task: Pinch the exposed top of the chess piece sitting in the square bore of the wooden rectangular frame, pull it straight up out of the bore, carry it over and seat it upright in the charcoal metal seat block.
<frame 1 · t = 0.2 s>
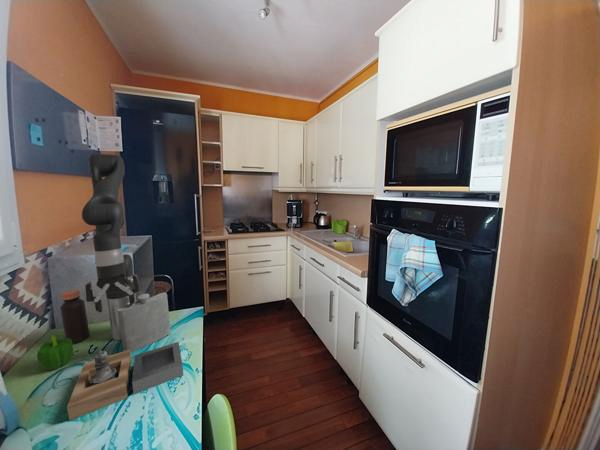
hand: (116, 307, 81), 18 cm above the table, tool pointing down, fingers open, 8 cm apart
bell pepper: (58, 365, 80), on the table
bottle: (78, 339, 93), on the table
wooden rectangular frame: (105, 385, 71), on the table
chess piece: (105, 386, 71), resting in wooden rectangular frame
hip flask: (149, 341, 91), on the table, touching gripper
seat block: (159, 370, 76), on the table
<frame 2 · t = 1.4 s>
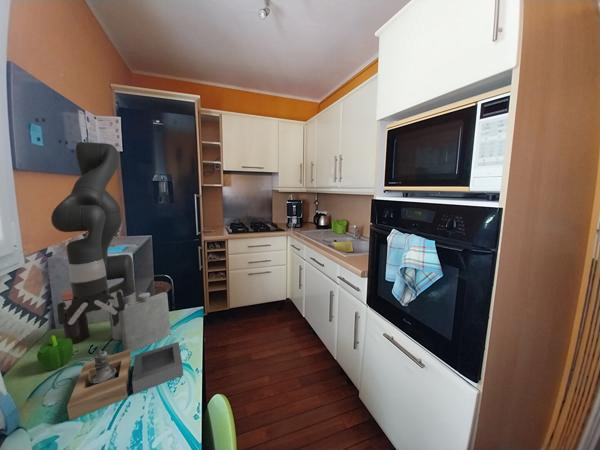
hand: (96, 329, 68), 18 cm above the table, tool pointing down, fingers open, 8 cm apart
hip flask: (149, 342, 91), on the table
everything else where it was.
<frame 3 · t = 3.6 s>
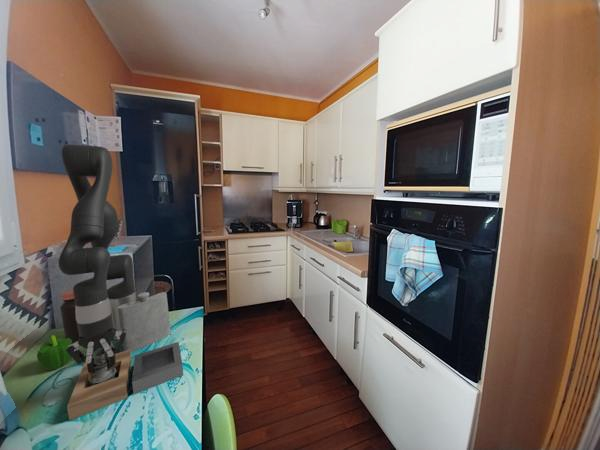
hand: (102, 368, 70), 6 cm above the table, tool pointing down, fingers closed on chess piece, 3 cm apart
chess piece: (105, 386, 71), resting in wooden rectangular frame, touching gripper
everything else where it was.
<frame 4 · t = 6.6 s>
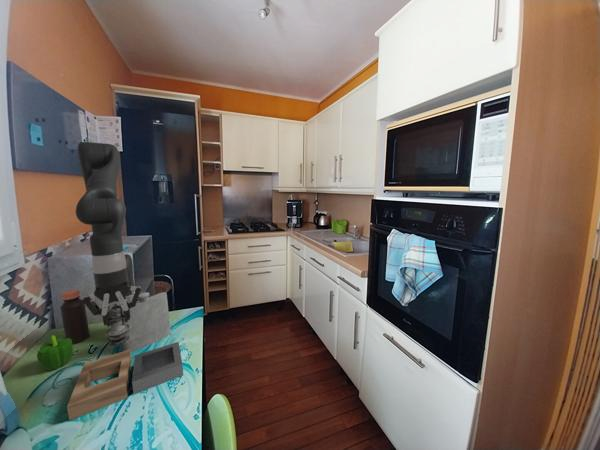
hand: (117, 322, 70), 19 cm above the table, tool pointing down, fingers closed on chess piece, 3 cm apart
chess piece: (120, 341, 71), point 13 cm above the table, touching gripper
everything else where it was.
when the fingers open (8 cm above the table, at t = 9.9 s): chess piece drops 1 cm, resting on seat block.
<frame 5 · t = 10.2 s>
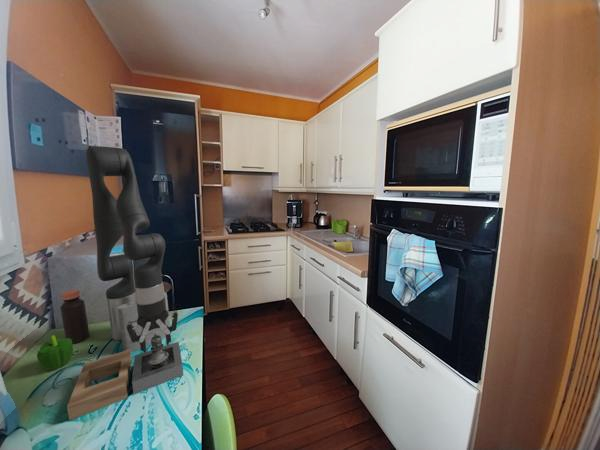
hand: (156, 346, 75), 8 cm above the table, tool pointing down, fingers open, 5 cm apart
chess piece: (159, 368, 76), point 1 cm above the table, touching seat block
everything else where it was.
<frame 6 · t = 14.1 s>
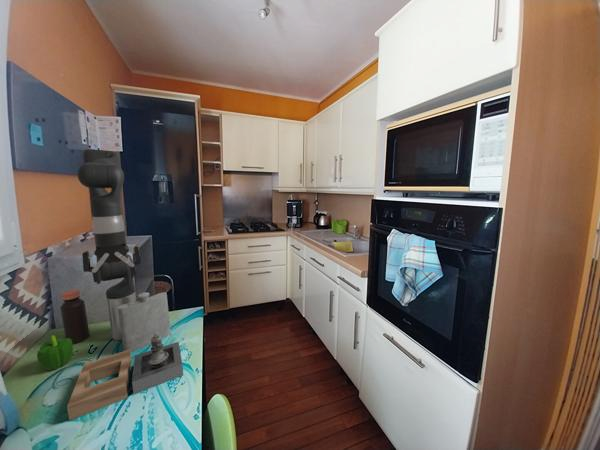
hand: (116, 280, 75), 30 cm above the table, tool pointing down, fingers open, 8 cm apart
nothing on the table moved.
at the end: chess piece 0.1 cm off-centre on the seat block, point 0.8 cm above the seat block's base; chess piece tilted 0°; the gripper is holding nothing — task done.
